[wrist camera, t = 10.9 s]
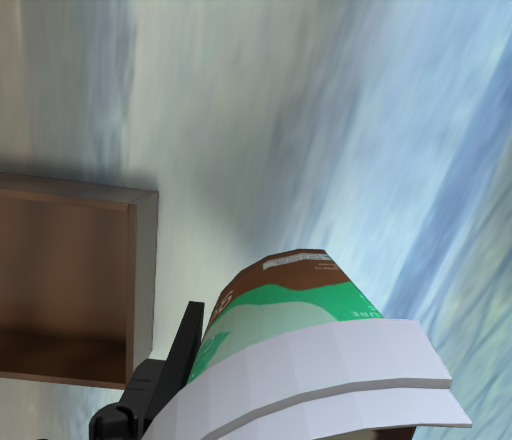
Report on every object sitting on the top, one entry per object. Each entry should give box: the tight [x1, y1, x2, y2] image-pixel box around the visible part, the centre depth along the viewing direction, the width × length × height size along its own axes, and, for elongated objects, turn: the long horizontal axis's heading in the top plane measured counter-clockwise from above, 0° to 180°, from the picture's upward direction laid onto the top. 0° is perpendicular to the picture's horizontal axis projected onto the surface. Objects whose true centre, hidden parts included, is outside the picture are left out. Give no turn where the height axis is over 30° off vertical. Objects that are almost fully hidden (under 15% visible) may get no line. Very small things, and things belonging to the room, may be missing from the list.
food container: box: [141, 249, 473, 440], centre depth 11 cm, size 12×6×10 cm, turn 172°
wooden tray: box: [0, 172, 159, 390], centre depth 25 cm, size 21×15×5 cm
